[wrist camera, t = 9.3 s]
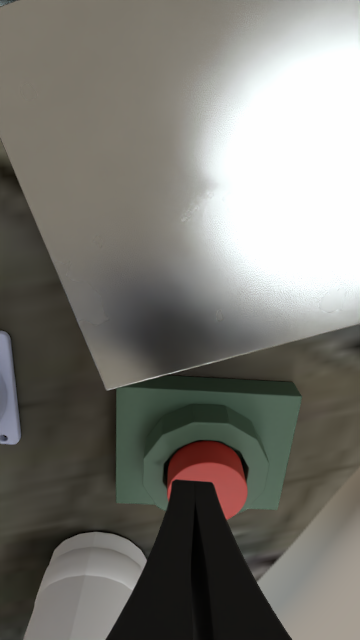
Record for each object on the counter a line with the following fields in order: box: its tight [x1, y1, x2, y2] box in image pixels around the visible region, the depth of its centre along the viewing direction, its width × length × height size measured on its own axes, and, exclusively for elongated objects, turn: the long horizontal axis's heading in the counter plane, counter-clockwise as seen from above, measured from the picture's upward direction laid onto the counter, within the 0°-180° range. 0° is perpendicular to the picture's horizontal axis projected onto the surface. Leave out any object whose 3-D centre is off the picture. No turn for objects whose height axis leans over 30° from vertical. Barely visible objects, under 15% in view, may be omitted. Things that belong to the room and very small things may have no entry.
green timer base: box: [116, 375, 302, 513], centre depth 22 cm, size 11×9×4 cm
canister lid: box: [0, 0, 360, 391], centre depth 12 cm, size 13×13×1 cm
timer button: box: [167, 441, 248, 520], centre depth 20 cm, size 4×4×2 cm
